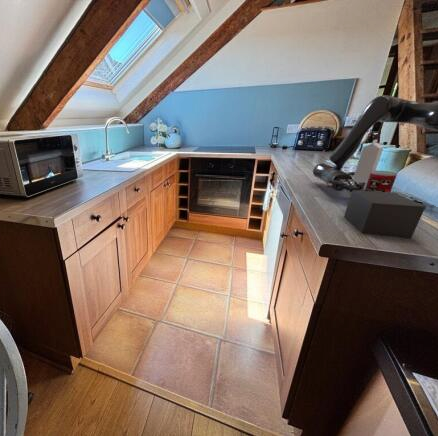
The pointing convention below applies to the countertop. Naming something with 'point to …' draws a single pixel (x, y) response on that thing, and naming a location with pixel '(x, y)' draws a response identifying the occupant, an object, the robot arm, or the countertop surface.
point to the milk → (367, 162)
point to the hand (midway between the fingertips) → (355, 190)
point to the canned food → (380, 181)
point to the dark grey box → (383, 213)
